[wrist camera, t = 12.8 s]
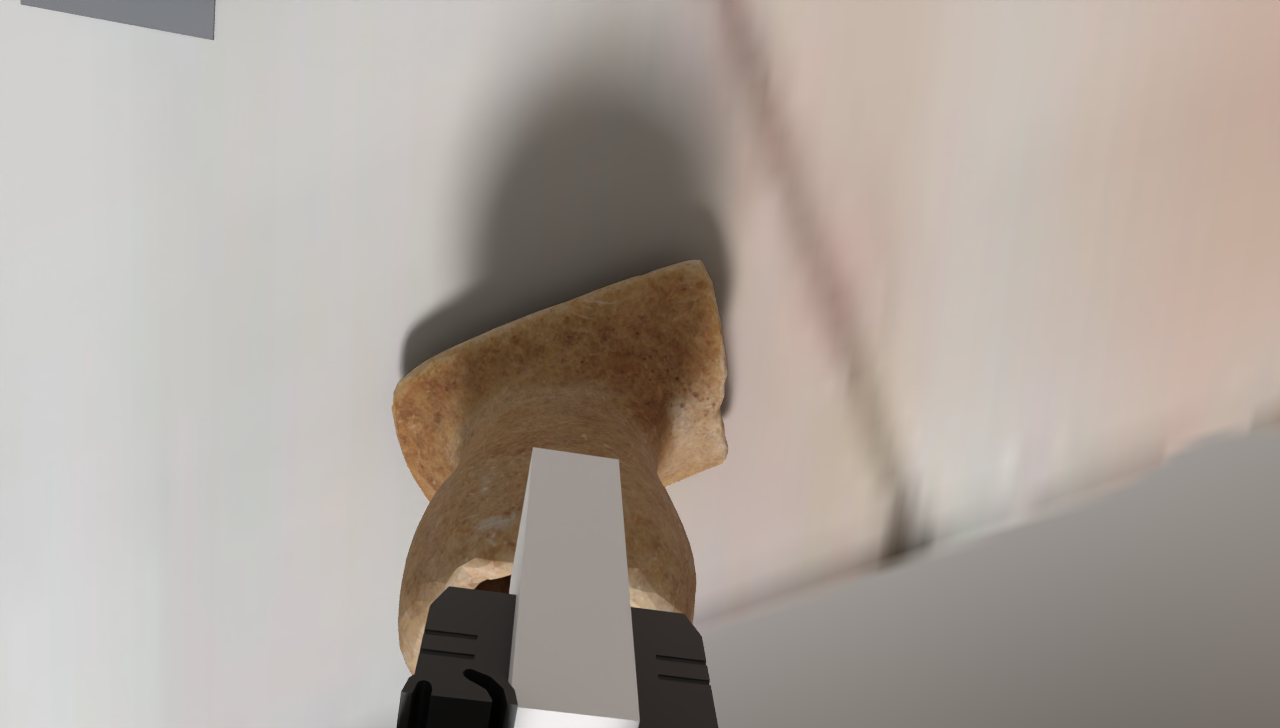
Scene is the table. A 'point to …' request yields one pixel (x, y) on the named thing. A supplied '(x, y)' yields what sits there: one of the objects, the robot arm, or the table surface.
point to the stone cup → (565, 433)
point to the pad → (143, 13)
